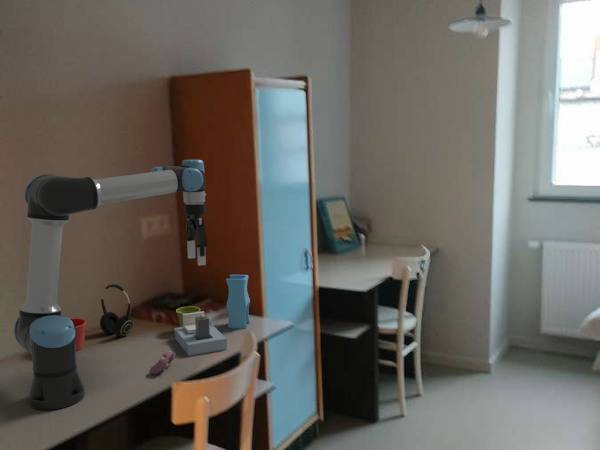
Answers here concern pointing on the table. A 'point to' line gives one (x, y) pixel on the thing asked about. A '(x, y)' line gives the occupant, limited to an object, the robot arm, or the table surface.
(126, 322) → the headphones
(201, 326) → the plug
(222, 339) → the socket
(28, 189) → the robot arm
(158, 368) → the pink oblong lump
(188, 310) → the plant pot
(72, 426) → the table surface
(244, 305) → the vase
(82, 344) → the flower pot
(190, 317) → the cream stepped block
